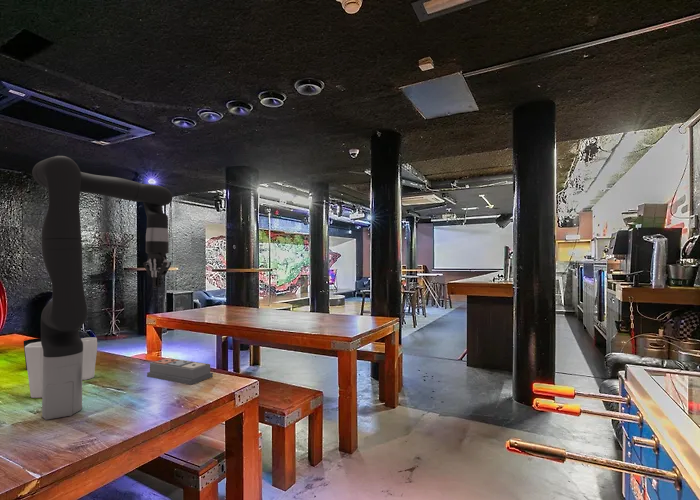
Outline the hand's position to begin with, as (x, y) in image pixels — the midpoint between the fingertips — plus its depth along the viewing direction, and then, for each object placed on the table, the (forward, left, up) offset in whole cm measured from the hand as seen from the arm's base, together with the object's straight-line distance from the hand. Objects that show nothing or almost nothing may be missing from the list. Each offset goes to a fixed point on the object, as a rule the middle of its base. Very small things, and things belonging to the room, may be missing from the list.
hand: (156, 287), depth 132 cm
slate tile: (+4, -8, -33) cm, 34 cm away
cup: (+48, +46, -35) cm, 75 cm away
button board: (+4, -8, -35) cm, 36 cm away
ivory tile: (-2, -13, -33) cm, 36 cm away
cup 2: (+6, +33, -35) cm, 49 cm away
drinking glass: (+20, +24, -35) cm, 47 cm away
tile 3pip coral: (+10, -3, -33) cm, 35 cm away
